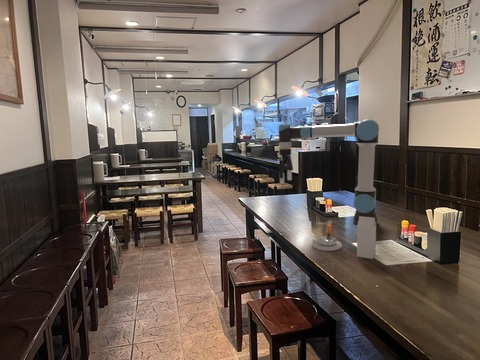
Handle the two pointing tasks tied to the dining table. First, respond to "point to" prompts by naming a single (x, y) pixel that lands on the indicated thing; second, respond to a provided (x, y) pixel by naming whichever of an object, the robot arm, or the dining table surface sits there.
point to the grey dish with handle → (327, 238)
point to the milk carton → (366, 237)
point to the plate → (324, 248)
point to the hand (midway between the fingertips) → (286, 181)
